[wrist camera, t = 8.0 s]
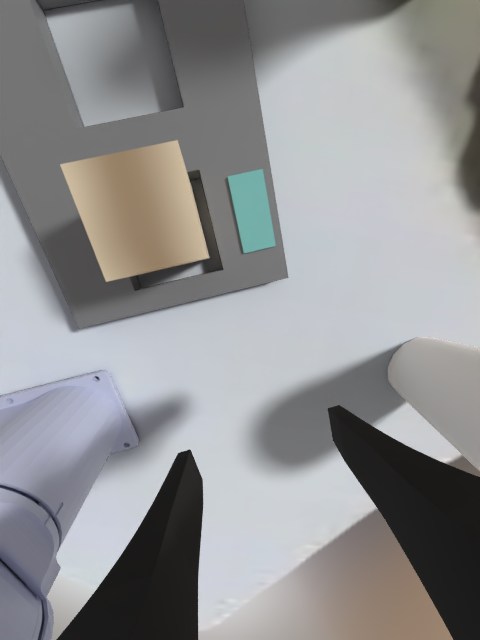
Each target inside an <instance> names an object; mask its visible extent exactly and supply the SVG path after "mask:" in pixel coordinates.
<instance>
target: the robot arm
mask: <svg viewBox="0 0 480 640" xmlns="http://www.w3.org/2000/svg"><path fill="white" fill-rule="evenodd" d="M95 376H97V377H99V379H96V378H95ZM11 399H12V400H13V401H12V400H11ZM328 412H329V418H330V425H331V431H332V437H333V441H334V443H335V445H336V446H337V448H338V450H339V452H340V454H341V455H342V457H343V459H344V461H345V462H346V464H347V465H348V467H349V468H350V469H351V471H352V472H353V474H354V475H355V477H356V478H357V480H358V481H359V482H360V484H361V485H362V487H363V488H364V489H365V491H366V492H367V494H368V495H369V497H370V498H371V500H372V501H373V502H374V504H375V505H376V507H377V508H378V510H379V511H380V512H381V514H382V516H383V517H384V519H385V520H386V522H387V524H388V525H389V527H390V529H391V530H392V532H393V533H394V535H395V537H396V538H397V540H398V542H399V543H400V545H401V547H402V549H403V550H404V552H405V554H406V556H407V557H408V559H409V561H410V563H411V564H412V566H413V568H414V570H415V571H416V573H417V575H418V576H419V578H420V580H421V582H422V584H423V585H424V587H425V589H426V591H427V592H428V594H429V596H430V598H431V599H432V601H433V603H434V605H435V607H436V608H437V610H438V612H439V614H440V616H441V617H442V619H443V621H444V623H445V625H446V627H447V628H448V630H449V632H450V634H451V636H452V638H453V640H480V477H478V476H475V475H472V474H470V473H467V472H465V471H462V470H459V469H457V468H455V467H452V466H450V465H447V464H445V463H443V462H440V461H438V460H436V459H433V458H431V457H429V456H427V455H425V454H423V453H421V452H418V451H416V450H414V449H412V448H410V447H408V446H406V445H404V444H403V443H401V442H399V441H397V440H395V439H393V438H392V437H390V436H388V435H386V434H384V433H383V432H381V431H379V430H378V429H376V428H374V427H373V426H371V425H369V424H368V423H366V422H365V421H363V420H362V419H360V418H358V417H357V416H355V415H354V414H352V413H351V412H349V411H348V410H346V409H345V408H343V407H341V406H340V405H338V406H335V407H332V408H328ZM126 443H129V444H126ZM138 443H139V438H138V436H137V434H136V432H135V429H134V427H133V425H132V423H131V420H130V418H129V416H128V413H127V411H126V409H125V407H124V404H123V402H122V400H121V398H120V395H119V393H118V391H117V388H116V386H115V384H114V382H113V379H112V377H111V375H110V373H109V372H108V371H106V370H100V371H97V372H93V373H89V374H85V375H81V376H77V377H73V378H69V379H65V380H61V381H57V382H53V383H49V384H46V385H42V386H38V387H34V388H30V389H26V390H22V391H18V392H14V393H10V394H6V395H2V396H0V640H51V639H52V633H53V625H54V616H53V609H52V606H51V603H50V601H49V600H48V599H47V598H46V596H47V595H48V593H49V591H50V589H51V587H52V585H53V582H54V581H55V579H56V577H57V575H58V573H59V571H60V566H59V564H58V563H57V560H56V555H57V552H58V550H59V548H60V546H61V544H62V543H63V541H64V539H65V537H66V535H67V533H68V531H69V529H70V528H71V526H72V524H73V522H74V520H75V518H76V516H77V514H78V512H79V511H80V509H81V507H82V505H83V503H84V501H85V499H86V497H87V496H88V494H89V492H90V490H91V488H92V486H93V484H94V482H95V480H96V479H97V477H98V475H99V473H100V471H101V469H102V467H103V465H104V464H105V462H106V460H107V458H108V456H109V454H112V453H116V452H120V451H123V450H127V449H131V448H134V447H136V446H137V445H138ZM202 514H203V481H202V477H201V475H200V472H199V470H198V467H197V465H196V462H195V460H194V457H193V455H192V452H191V450H187V451H184V452H180V453H178V455H177V457H176V459H175V461H174V463H173V465H172V467H171V469H170V471H169V473H168V475H167V477H166V479H165V481H164V483H163V485H162V487H161V489H160V491H159V492H158V494H157V496H156V498H155V500H154V502H153V504H152V506H151V507H150V509H149V511H148V513H147V514H146V516H145V518H144V520H143V521H142V523H141V525H140V526H139V528H138V530H137V531H136V533H135V535H134V536H133V538H132V539H131V541H130V542H129V544H128V545H127V547H126V549H125V550H124V552H123V553H122V555H121V556H120V558H119V559H118V560H117V562H116V563H115V565H114V566H113V568H112V569H111V570H110V572H109V573H108V574H107V576H106V577H105V579H104V580H103V581H102V583H101V584H100V586H99V587H98V588H97V590H96V591H95V592H94V594H93V595H92V596H91V597H90V599H89V600H88V602H87V603H86V604H85V605H84V607H83V608H82V609H81V610H80V612H79V613H78V614H77V615H76V617H75V618H74V619H73V620H72V622H71V623H70V624H69V625H68V627H67V628H66V629H65V630H64V631H63V633H62V634H61V635H60V636H59V637H58V639H57V640H198V569H199V555H200V541H201V528H202Z"/></svg>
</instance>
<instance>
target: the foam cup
mask: <svg viewBox="0 0 480 640" xmlns="http://www.w3.org/2000/svg"><path fill="white" fill-rule="evenodd" d="M388 381H389V382H390V384H391V385H392V387H393V388H394V389H395V390H396V391H397V392H398V394H399V395H401V396H402V397H403V398H404V399H405V400H406V401H407V402H408V403H409V404H410V405H411V406H412V407H413V408H414V409H415V410H416V411H417V412H418V413H419V414H420V415H421V416H422V417H424V418H425V419H426V420H427V421H428V422H429V423H430V424H431V425H432V426H433V427H434V428H435V429H436V430H437V431H438V432H439V433H440V434H441V435H442V436H443V437H444V438H445V439H447V440H448V441H449V442H450V443H451V444H452V445H453V446H454V447H455V448H456V449H457V450H458V451H459V452H460V453H461V454H462V455H463V456H464V457H465V458H466V459H467V460H469V461H470V462H471V463H472V464H473V465H474V466H475V467H476V468H477V469H478V470H479V471H480V348H479V347H474V346H470V345H465V344H461V343H456V342H451V341H447V340H442V339H438V338H431V337H417V338H415V339H412V340H410V341H408V342H406V343H404V344H403V345H402V346H401V347H400V348H399V349H398V350H397V351H396V352H395V353H394V354H393V356H392V358H391V361H390V363H389V365H388Z"/></svg>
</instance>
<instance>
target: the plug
mask: <svg viewBox="0 0 480 640" xmlns="http://www.w3.org/2000/svg"><path fill="white" fill-rule="evenodd" d="M60 166H61V168H62V171H63V173H64V176H65V179H66V181H67V184H68V186H69V189H70V191H71V194H72V196H73V199H74V202H75V204H76V207H77V209H78V212H79V214H80V217H81V219H82V222H83V224H84V227H85V230H86V232H87V235H88V237H89V240H90V242H91V245H92V247H93V250H94V252H95V255H96V258H97V260H98V263H99V265H100V268H101V270H102V273H103V275H104V278H105V280H106V282H108V281H113V280H117V279H122V278H127V277H132V276H136V275H141V274H146V273H150V272H154V271H159V270H163V269H167V268H171V267H176V266H180V265H184V264H189V263H193V262H197V261H201V260H206V259H210V257H209V253H208V249H207V245H206V241H205V237H204V233H203V229H202V226H201V222H200V218H199V214H198V210H197V206H196V202H195V198H194V194H193V190H192V187H191V183H190V180H189V177H188V173H187V170H186V167H185V163H184V160H183V157H182V154H181V150H180V147H179V144H178V140H176V141H171V142H166V143H161V144H156V145H151V146H147V147H142V148H137V149H132V150H127V151H122V152H118V153H113V154H108V155H103V156H98V157H93V158H89V159H84V160H79V161H74V162H69V163H64V164H60Z"/></svg>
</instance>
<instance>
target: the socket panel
mask: <svg viewBox="0 0 480 640" xmlns="http://www.w3.org/2000/svg"><path fill="white" fill-rule="evenodd" d="M92 1H98V0H0V156H1V158H2V160H3V162H4V164H5V167H6V169H7V171H8V173H9V175H10V178H11V180H12V182H13V184H14V186H15V189H16V191H17V193H18V195H19V197H20V200H21V202H22V204H23V206H24V208H25V211H26V213H27V215H28V217H29V219H30V222H31V224H32V226H33V228H34V230H35V233H36V235H37V237H38V239H39V241H40V244H41V246H42V248H43V250H44V252H45V255H46V257H47V259H48V261H49V264H50V266H51V268H52V270H53V272H54V275H55V277H56V279H57V281H58V283H59V286H60V288H61V290H62V292H63V294H64V297H65V299H66V301H67V303H68V305H69V308H70V310H71V312H72V314H73V316H74V319H75V321H76V323H77V325H78V327H79V329H81V328H85V327H89V326H93V325H97V324H101V323H105V322H109V321H113V320H117V319H121V318H126V317H130V316H134V315H138V314H142V313H146V312H150V311H154V310H158V309H162V308H167V307H171V306H175V305H179V304H183V303H187V302H191V301H195V300H199V299H203V298H207V297H212V296H216V295H220V294H224V293H228V292H232V291H236V290H240V289H244V288H248V287H253V286H257V285H261V284H265V283H269V282H273V281H277V280H281V279H285V278H288V272H287V266H286V260H285V254H284V248H283V242H282V235H281V229H280V223H279V217H278V211H277V205H276V198H275V192H274V186H273V180H272V174H271V168H270V162H269V155H268V149H267V143H266V137H265V131H264V125H263V118H262V112H261V106H260V100H259V94H258V88H257V82H256V75H255V69H254V63H253V57H252V51H251V45H250V38H249V32H248V26H247V20H246V14H245V8H244V1H243V0H158V4H159V8H160V12H161V16H162V20H163V24H164V29H165V33H166V37H167V41H168V45H169V49H170V53H171V57H172V62H173V66H174V70H175V74H176V78H177V82H178V86H179V91H180V95H181V99H182V103H183V108H178V109H173V110H168V111H163V112H158V113H153V114H148V115H143V116H138V117H133V118H128V119H123V120H118V121H113V122H108V123H103V124H98V125H93V126H88V127H84V125H83V122H82V119H81V117H80V114H79V111H78V108H77V105H76V102H75V99H74V97H73V94H72V91H71V88H70V85H69V82H68V80H67V77H66V74H65V71H64V68H63V65H62V63H61V60H60V57H59V54H58V51H57V48H56V46H55V43H54V40H53V37H52V34H51V31H50V28H49V26H48V23H47V20H46V17H45V14H44V11H43V10H45V9H51V8H57V7H63V6H69V5H75V4H80V3H86V2H92ZM176 140H178V144H179V147H180V150H181V154H182V157H183V160H184V163H185V167H186V170H187V173H188V177H189V180H191V179H196V178H200V177H201V181H202V185H203V190H204V194H205V198H206V202H207V206H208V210H209V214H210V219H211V223H212V227H213V231H214V235H215V239H216V243H217V247H218V252H219V256H220V260H221V264H222V268H223V269H221V270H217V271H212V272H208V273H204V274H200V275H196V276H191V277H187V278H183V279H179V280H175V281H171V282H166V283H162V284H158V285H154V286H150V287H145V288H141V287H140V284H139V281H138V278H137V276H132V277H127V278H122V279H117V280H113V281H108V282H106V280H105V278H104V275H103V273H102V270H101V268H100V265H99V263H98V260H97V258H96V255H95V252H94V250H93V247H92V245H91V242H90V240H89V237H88V235H87V232H86V230H85V227H84V224H83V222H82V219H81V217H80V214H79V212H78V209H77V207H76V204H75V202H74V199H73V196H72V194H71V191H70V189H69V186H68V184H67V181H66V179H65V176H64V173H63V171H62V168H61V166H60V164H64V163H69V162H74V161H79V160H84V159H89V158H93V157H98V156H103V155H108V154H113V153H118V152H122V151H127V150H132V149H137V148H142V147H147V146H151V145H156V144H161V143H166V142H171V141H176Z"/></svg>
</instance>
